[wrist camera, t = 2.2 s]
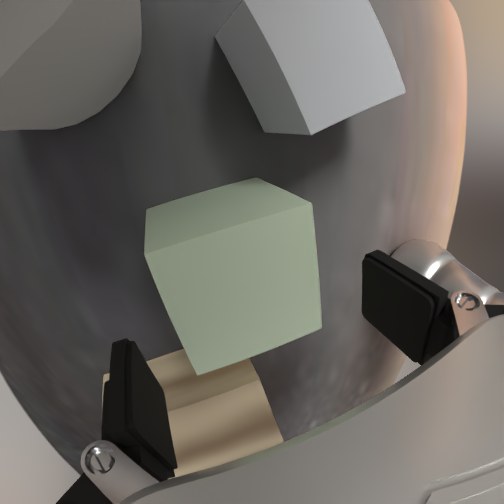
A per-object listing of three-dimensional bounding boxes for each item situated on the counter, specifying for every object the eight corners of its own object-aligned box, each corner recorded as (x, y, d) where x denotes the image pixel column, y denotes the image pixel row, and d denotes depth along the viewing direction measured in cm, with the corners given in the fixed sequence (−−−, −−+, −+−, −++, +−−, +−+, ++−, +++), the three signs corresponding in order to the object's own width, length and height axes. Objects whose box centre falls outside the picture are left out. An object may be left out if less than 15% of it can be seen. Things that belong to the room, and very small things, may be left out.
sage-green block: (146, 208, 14) (144, 254, 9) (255, 176, 15) (311, 203, 10) (179, 303, 17) (197, 375, 12) (272, 271, 18) (321, 328, 13)
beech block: (103, 371, 17) (101, 428, 13) (234, 326, 19) (259, 379, 15) (163, 436, 22) (172, 481, 17) (263, 402, 24) (285, 445, 19)
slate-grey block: (214, 37, 12) (243, -1, 7) (306, 10, 12) (358, -18, 8) (263, 132, 15) (311, 135, 10) (346, 95, 15) (406, 92, 11)
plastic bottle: (430, 232, 22) (609, 347, 5) (408, 299, 24) (557, 426, 7) (383, 229, 20) (611, 385, 2) (360, 308, 22) (533, 477, 5)
